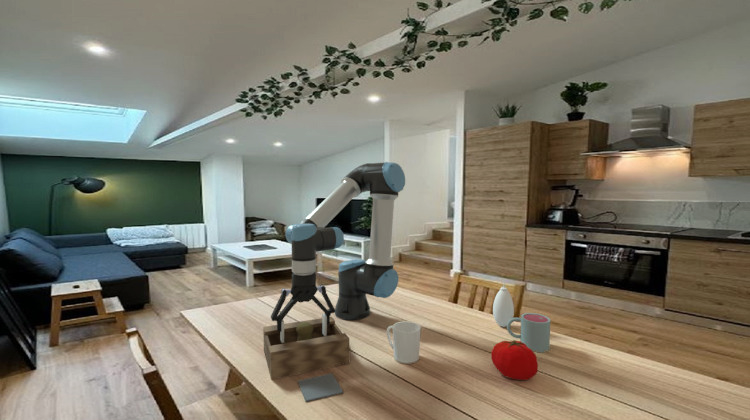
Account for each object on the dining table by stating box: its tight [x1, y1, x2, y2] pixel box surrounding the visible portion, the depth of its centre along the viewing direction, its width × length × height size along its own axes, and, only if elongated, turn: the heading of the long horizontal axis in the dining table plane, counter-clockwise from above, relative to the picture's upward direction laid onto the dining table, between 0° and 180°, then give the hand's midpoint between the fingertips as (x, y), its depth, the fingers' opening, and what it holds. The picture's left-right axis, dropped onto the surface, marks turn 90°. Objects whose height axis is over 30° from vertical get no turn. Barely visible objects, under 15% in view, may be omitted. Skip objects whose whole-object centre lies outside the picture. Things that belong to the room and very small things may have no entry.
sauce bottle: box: [492, 281, 515, 328], centre depth 139 cm, size 8×8×18 cm
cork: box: [296, 322, 313, 341], centre depth 114 cm, size 6×6×11 cm
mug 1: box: [386, 320, 422, 365], centre depth 114 cm, size 11×9×10 cm
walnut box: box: [262, 316, 350, 381], centre depth 114 cm, size 24×20×8 cm
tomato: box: [490, 339, 539, 381], centre depth 103 cm, size 11×13×10 cm
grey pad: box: [297, 373, 344, 403], centre depth 97 cm, size 10×10×1 cm
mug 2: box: [506, 312, 551, 353], centre depth 123 cm, size 14×9×10 cm
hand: (303, 337), depth 114 cm, fingers open, 13 cm apart
